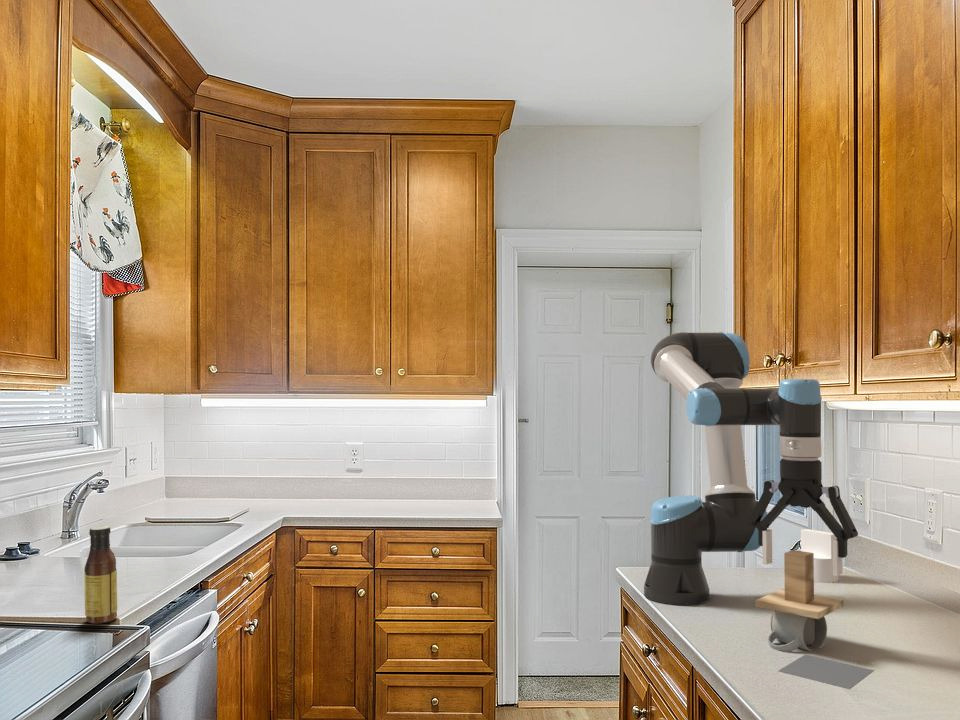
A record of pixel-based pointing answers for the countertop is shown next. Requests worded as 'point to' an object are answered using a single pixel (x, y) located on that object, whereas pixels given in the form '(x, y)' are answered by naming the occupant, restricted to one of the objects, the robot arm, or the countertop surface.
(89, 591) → the sauce bottle
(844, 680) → the mat
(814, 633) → the ceramic mug
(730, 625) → the countertop surface
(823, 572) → the base with upright slab
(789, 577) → the wooden plaque with block
